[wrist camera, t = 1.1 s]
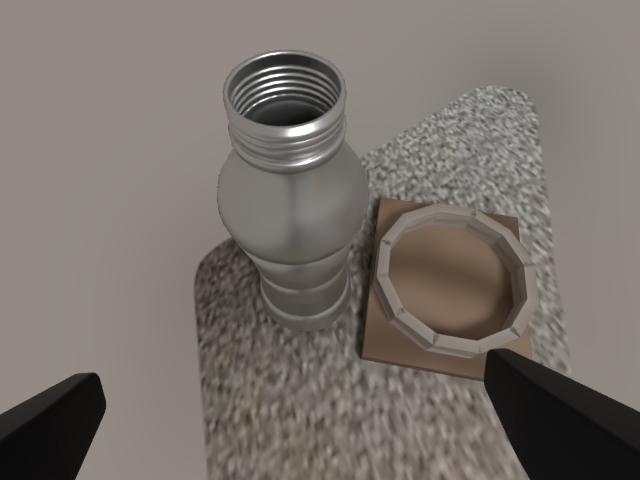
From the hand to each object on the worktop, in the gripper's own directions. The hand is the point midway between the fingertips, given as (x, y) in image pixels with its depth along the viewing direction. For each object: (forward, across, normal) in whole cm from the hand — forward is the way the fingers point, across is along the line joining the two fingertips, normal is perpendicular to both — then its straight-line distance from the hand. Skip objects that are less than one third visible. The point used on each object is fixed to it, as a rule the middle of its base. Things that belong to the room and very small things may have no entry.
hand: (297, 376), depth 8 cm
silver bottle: (+19, 0, +8) cm, 20 cm away
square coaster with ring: (+19, -11, +7) cm, 23 cm away
